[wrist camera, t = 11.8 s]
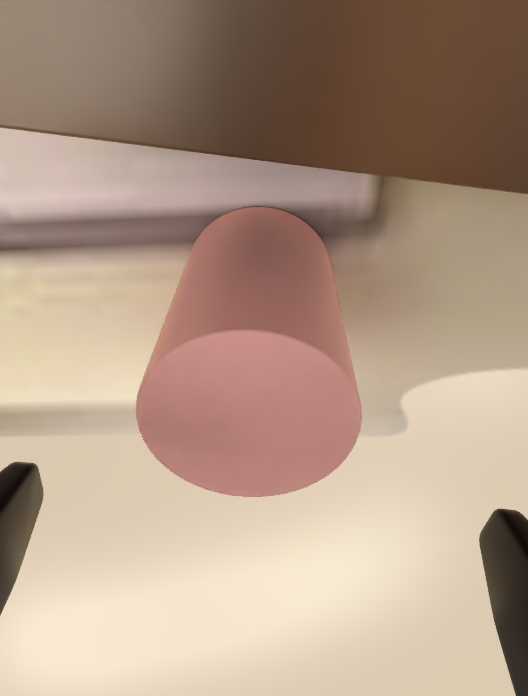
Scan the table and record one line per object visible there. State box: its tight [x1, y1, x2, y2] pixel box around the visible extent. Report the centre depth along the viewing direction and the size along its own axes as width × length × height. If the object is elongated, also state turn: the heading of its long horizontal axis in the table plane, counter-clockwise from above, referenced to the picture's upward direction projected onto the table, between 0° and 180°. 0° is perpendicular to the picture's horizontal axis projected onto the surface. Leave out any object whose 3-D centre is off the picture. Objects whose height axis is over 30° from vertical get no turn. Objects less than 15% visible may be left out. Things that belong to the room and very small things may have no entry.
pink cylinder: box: [136, 207, 362, 497], centre depth 15 cm, size 5×5×8 cm
